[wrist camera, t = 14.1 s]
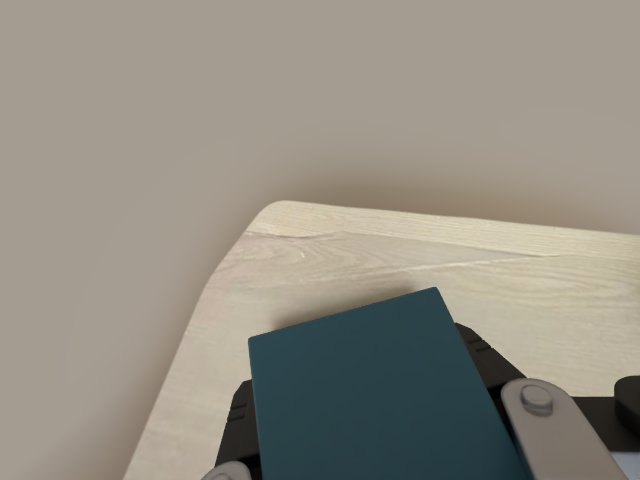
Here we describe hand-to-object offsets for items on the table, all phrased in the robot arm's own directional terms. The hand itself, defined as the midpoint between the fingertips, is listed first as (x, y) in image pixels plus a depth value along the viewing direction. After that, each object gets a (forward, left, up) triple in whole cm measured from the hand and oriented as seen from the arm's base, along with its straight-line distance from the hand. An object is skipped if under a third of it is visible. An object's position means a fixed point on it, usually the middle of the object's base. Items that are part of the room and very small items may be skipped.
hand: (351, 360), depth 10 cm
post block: (0, +2, -5) cm, 6 cm away
